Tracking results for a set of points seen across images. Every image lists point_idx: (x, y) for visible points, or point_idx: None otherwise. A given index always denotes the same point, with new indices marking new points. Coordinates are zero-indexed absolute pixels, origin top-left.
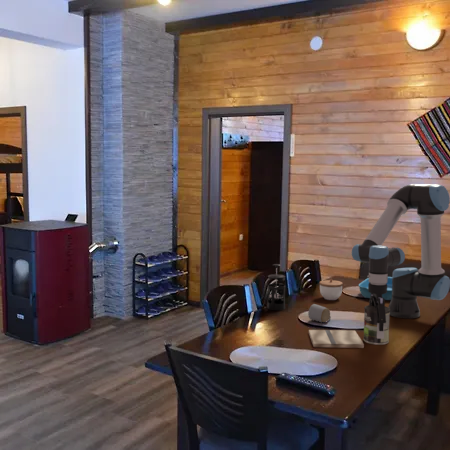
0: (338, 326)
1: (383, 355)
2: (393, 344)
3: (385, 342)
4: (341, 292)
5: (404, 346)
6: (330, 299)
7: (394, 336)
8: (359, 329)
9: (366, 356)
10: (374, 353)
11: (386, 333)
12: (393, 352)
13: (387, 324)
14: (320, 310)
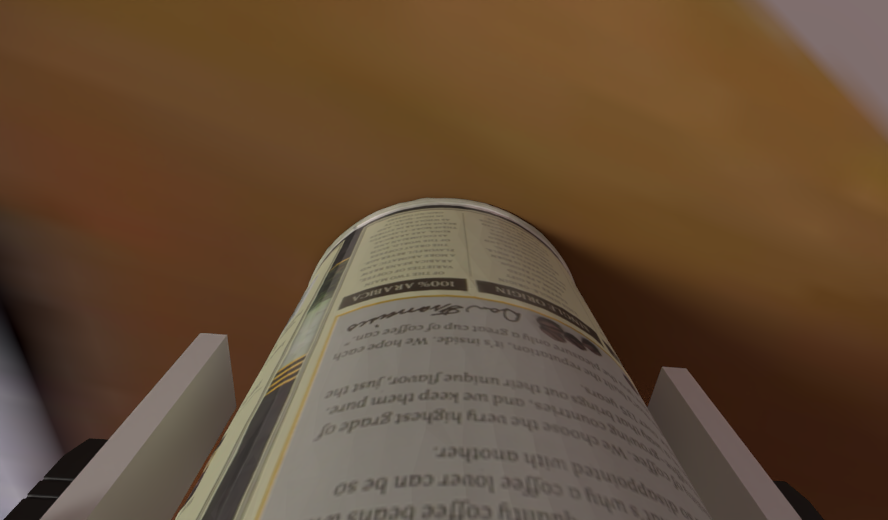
0: (2, 517)
1: (871, 384)
2: (590, 177)
3: (570, 276)
4: None
5: (696, 56)
6: None
7: (253, 34)
8: (42, 376)
9: (830, 502)
10: (791, 436)
11: (598, 326)
12: (840, 271)
13: (649, 420)
14: None
